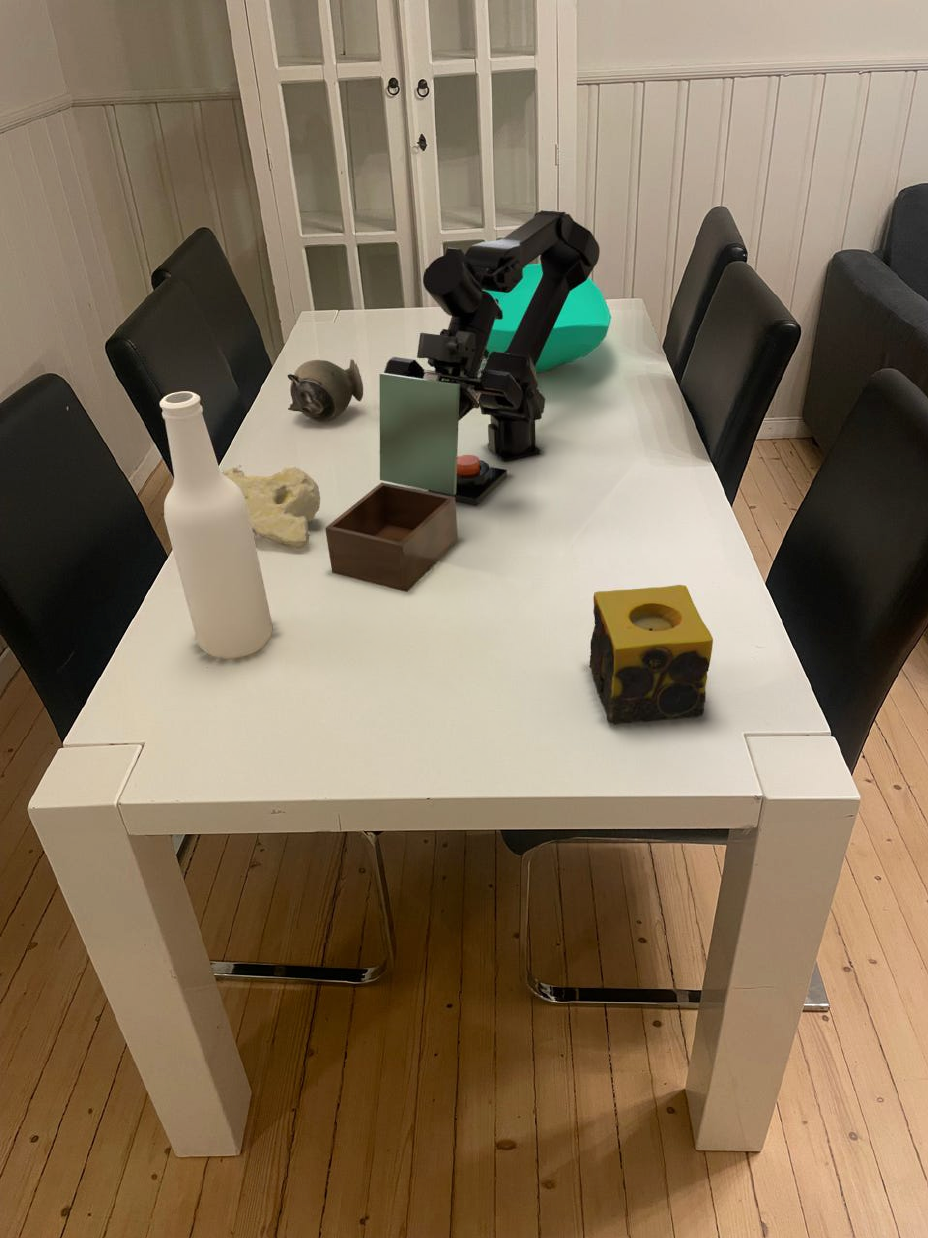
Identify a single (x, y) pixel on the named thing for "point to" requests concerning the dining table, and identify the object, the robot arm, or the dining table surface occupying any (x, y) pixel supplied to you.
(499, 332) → the table top decor
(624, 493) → the dining table surface
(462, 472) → the button
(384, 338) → the dining table surface
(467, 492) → the black button base
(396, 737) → the dining table surface
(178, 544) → the alcohol
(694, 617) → the candle
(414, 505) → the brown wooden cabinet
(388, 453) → the sage green panel
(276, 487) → the animal skull
